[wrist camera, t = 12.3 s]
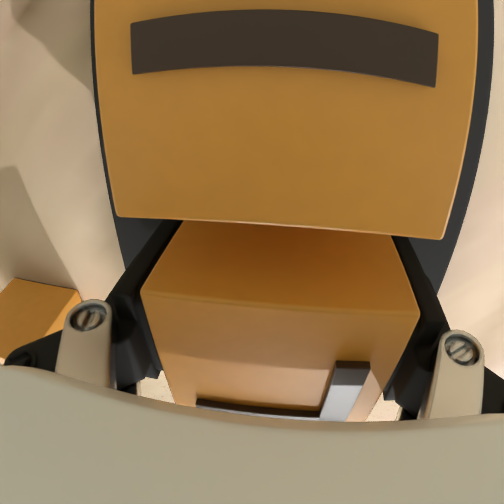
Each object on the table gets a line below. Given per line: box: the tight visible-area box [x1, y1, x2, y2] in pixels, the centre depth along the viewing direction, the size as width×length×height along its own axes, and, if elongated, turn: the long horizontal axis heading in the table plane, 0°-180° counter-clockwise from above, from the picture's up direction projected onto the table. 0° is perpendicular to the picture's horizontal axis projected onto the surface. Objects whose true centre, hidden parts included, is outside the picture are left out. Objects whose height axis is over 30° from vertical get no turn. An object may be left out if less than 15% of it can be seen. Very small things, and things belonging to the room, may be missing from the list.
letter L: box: [140, 220, 420, 422], centre depth 9 cm, size 5×5×5 cm
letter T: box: [0, 278, 82, 365], centre depth 13 cm, size 5×5×5 cm
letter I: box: [94, 0, 478, 240], centre depth 5 cm, size 5×5×5 cm
